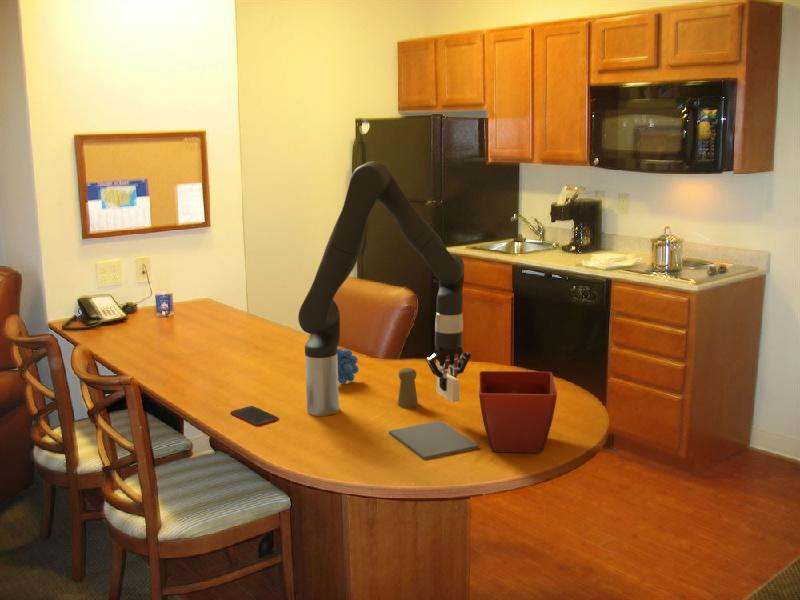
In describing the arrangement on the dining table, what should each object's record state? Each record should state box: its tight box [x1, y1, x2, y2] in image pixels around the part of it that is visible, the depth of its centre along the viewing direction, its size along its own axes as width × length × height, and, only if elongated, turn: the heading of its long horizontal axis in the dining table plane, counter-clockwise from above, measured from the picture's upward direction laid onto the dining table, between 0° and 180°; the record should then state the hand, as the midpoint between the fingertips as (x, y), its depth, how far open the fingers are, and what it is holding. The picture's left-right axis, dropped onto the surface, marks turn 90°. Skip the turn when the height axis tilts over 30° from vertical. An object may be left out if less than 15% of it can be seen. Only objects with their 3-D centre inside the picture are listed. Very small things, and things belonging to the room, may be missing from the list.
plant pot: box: [478, 370, 558, 454], centre depth 221 cm, size 19×19×17 cm
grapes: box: [337, 347, 360, 385], centre depth 270 cm, size 12×7×12 cm, turn 127°
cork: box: [397, 367, 419, 409], centre depth 252 cm, size 6×6×11 cm
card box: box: [436, 373, 461, 403], centre depth 236 cm, size 9×2×6 cm, turn 27°
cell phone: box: [230, 405, 280, 427], centre depth 245 cm, size 8×15×1 cm, turn 42°
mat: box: [388, 420, 480, 461], centre depth 225 cm, size 20×16×1 cm
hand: (447, 389), depth 236 cm, fingers closed on card box, 2 cm apart
